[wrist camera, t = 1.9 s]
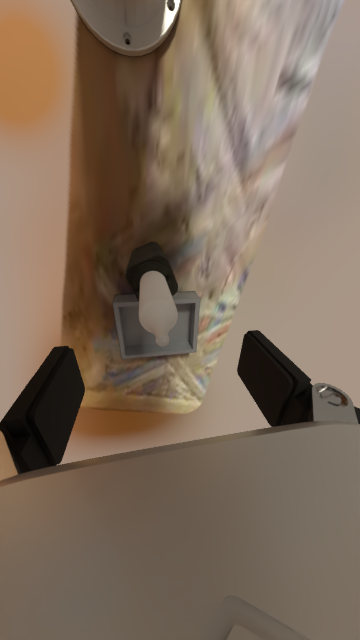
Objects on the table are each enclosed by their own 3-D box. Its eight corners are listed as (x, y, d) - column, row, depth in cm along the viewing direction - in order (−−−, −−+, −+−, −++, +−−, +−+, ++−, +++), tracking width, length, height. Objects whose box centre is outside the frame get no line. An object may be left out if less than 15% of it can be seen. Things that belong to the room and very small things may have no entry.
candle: (168, 268, 34) (214, 357, 12) (142, 279, 34) (142, 386, 12) (157, 239, 31) (190, 289, 10) (128, 251, 31) (99, 326, 10)
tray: (115, 294, 34) (112, 302, 31) (195, 291, 37) (200, 298, 34) (123, 347, 40) (121, 359, 37) (192, 341, 43) (196, 352, 39)
